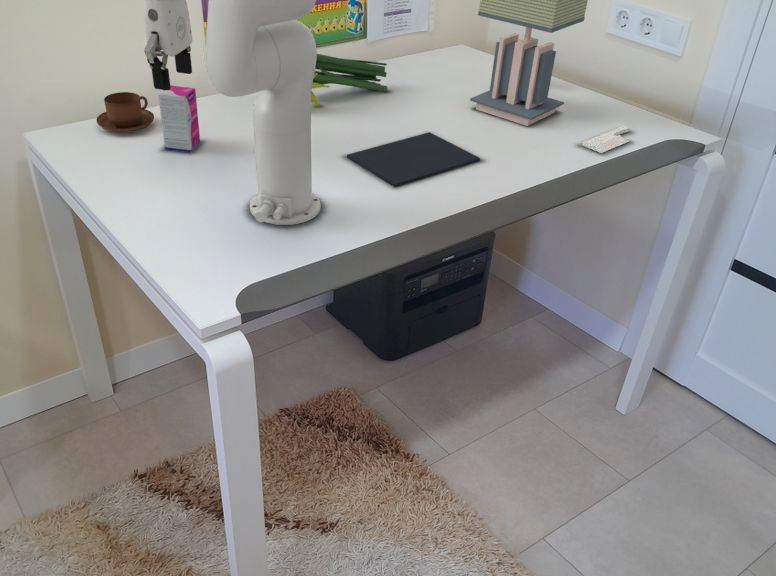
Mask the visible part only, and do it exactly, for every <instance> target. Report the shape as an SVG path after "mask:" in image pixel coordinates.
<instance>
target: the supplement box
mask: <svg viewBox="0 0 776 576" xmlns="http://www.w3.org/2000/svg"><path fill="white" fill-rule="evenodd" d="M170 86H171V89H170V90H161V91H160V92H159V93H158V94H157V96H158V97H157V98H158V104H159V113H160V120H161V128H162V138H163V146H164V150H165V151H171V152H172V151H173V152H180V153H191V152H192V151H193V150H194V148H196V147H197V146H198V145H199V144H200V143H201V135H200V125H199V114H198V113H199V112H198V103H197V93H196V92H197V91H196V87H189V86H179V85H171V84H170Z"/></svg>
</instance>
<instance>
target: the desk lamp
mask: <svg viewBox="0 0 776 576" xmlns="http://www.w3.org/2000/svg"><path fill="white" fill-rule="evenodd" d="M588 1H589V0H479V8H478V12H477V16H479V17H482V18H487V19H492V20H495V21H500V22H504V23H507V24H508V23H509V24H512V25H516V26H521V27H525V31H524V38H523V39H520V40H521V41H518V40H519V36H520V34H519V33H512V34H509V35H507V36H504V37H501V38H499V41H497V42H496V43H495V48H494V49H495V50H494V58H493V64H492V71H491V78H490V86H489V90H487V91H484V92H482V93H479V94H477V95H475V96H472V97H470V98H469V102H473V103H476V105H475V106H476V107H475V109H476V110H477V111H479V112H483V113H485V114H489V115H493V116H496V117H498V118H500V119H501V118H502V119H504V120H507V121H511V122H514V123H517V124H520V125H523V126H526V127H528V126H531V125H533V124H535V123H537V122H538V121H540V120H542V119H544V118H547V117H549V116H551V115H553V114H555V113H556V109H557V108H559V107H562V106H563V105H565V101H562V100H558V99H555V98H552V97H548V96H549V92H550V86H551V81H552V75H553V70H554V65H555V61H556V60H555V59H556V54H557V51H556V50H554V46H555V42H551V41H550V42H546V43H543V44H541V45H539V46H538V44H539V38H535V37H532V32H533V31H532V30H533V29H534V30H537V31H542V32H546V33H550V34H553V33H555V32H558V31H560V30H563V29H566V28H569V27H571V26H574V25H576V24H579V23H582V22H584V21H585V16H586V10H587V7H588Z"/></svg>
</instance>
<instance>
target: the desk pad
mask: <svg viewBox="0 0 776 576" xmlns="http://www.w3.org/2000/svg"><path fill="white" fill-rule="evenodd" d="M346 158H347V159H349V160H351V161H352V162H353V163H355V164H357V165H359V166H360V167H362V168H363V169H365V170H367V171H368V172H370V173H372V174H373V175H374V176H376V177H378V178H380V179H381V180H383V181H385V182H387V183H388V184H390V185H392V186H393V187H395V188H397V187H400V186H403V185H407V184H409V183H412V182H415V181H419V180H422V179H426V178H428V177H432V176H435V175H437V174H438V175H439V174H441V173H444V172H448V171H452V170H455V169H458V168H461V167H464V166H467V165H471V164H473V163H477V162H480V161H481V160H480V159H481V157H479V156H476V155H475V154H474V153H471V152H469V151H467V150H465V149H464V148H461V147H459V146H458V145H455V144H453V143H452V142H449V141H447V140H445V138H442V137H440V136H438V135H436V134H434V133H432V132H430V131H429V132H425V133H422V134H418V135H415V136H411V137H407V138H403V139H399V140H396V141H393V142H388V143H384V144H381V145H377V146H373V147H370V148H367V149H363V150H359V151H355V152H352V153H348V154H346Z"/></svg>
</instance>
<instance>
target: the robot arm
mask: <svg viewBox="0 0 776 576" xmlns="http://www.w3.org/2000/svg"><path fill="white" fill-rule="evenodd" d="M316 2H317V0H208V3H207V6H208V7H207V19H206V20H207V21H206V34H205V35H206V36H205V64H206V69H207V71H206V72H207V74H208V77H209V80H210V82H211V85H212V86H213V87H214V89H215V90H216V91H217V92H218V93H220V94H221V95H223V96H226V97H229V98H238V97H244V96H248V95H252V94H256V96H255V100H254V102H253V108H252V126H253V141H254V142H253V143H254V144H253V145H254V158H255V159H254V160H255V173H256V187H257V189H256V191H257V193H256V194H255V195H254V196H252V198H251V199H250V201H249V211H250V213H251V215H252V216H253V217H254V219H255V221H257V222H258V223H266V224H271V225H276V226H290V225H291V226H292V225H297V224H302V223H306V222H308V221H310V220H312V219H314V218H315V217H317V215H319V213H320V212H321V208H322V206H321V200H320V198H319V197H318V195H316V194H315V193H313V189H312V188H313V187H312V186H313V185H312V184H313V183H312V180H313V179H312V101H311V92H313V88H312V84H313V77H314V72H315V71H316V69H315V66H316V57H317V54H318V53H317V52H318V51H317V44H316V39H315V37H314V34H313V33H312V31H311V29H309V27H308V26H307V25H306V24H304V23H303V22H302V21H299V20H298V19H301V18H303V17H305V16H307V15H309V14H310V13H311V12H312V11H313V9H314V7H315V5H316ZM143 13H144V16H143V17H144V26H145V36H146V44H145V46H144V50H143V53H144V54H145V57H146V58H147V59H146V60H147V63H148V64H149V68H150V69H151V74H152V75H151V76H152V82H153V88H154V89H155V90H161V91H163V90H170V89H171V86H170V85H171V79H170V71H169V68H168V67H167V64H168V58H169V57H171V58H173V57H174V62H175V71H176V72H177V73H179V74H188V75H191V74H193V67H192V57H191V51H192V47H191V45H192V43H193V33H192V26H191V19H190V13H189V7H188V2H187V0H143ZM159 57H161V60H160V58H159Z"/></svg>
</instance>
